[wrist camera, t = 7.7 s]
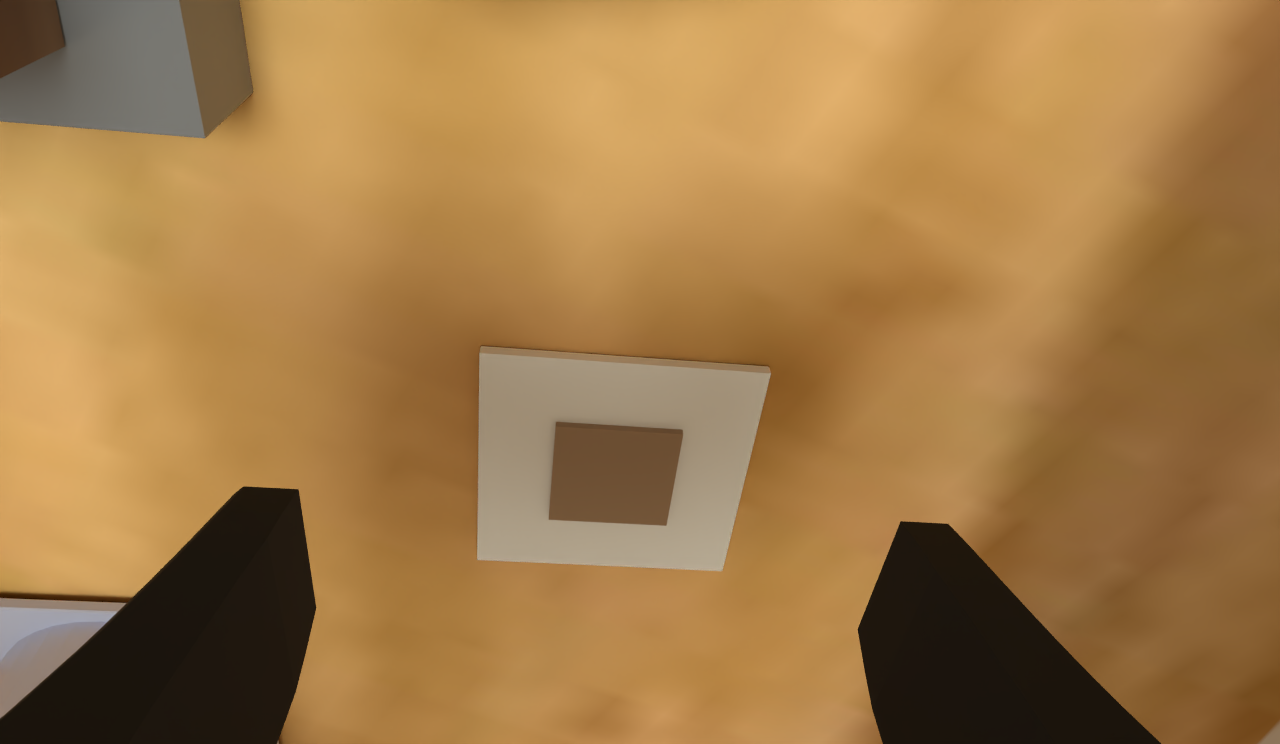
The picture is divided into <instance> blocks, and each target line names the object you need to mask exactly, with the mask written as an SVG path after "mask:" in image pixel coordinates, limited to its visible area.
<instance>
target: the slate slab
mask: <svg viewBox="0 0 1280 744" xmlns="http://www.w3.org/2000/svg"><path fill="white" fill-rule="evenodd" d="M55 2H56V6H57V11H58V16H59V21H60V25H61V30H62V35H63V40H64V44H65V47H63V48H61V49H59V50H57V51H55V52H53V53H51V54H49V55H47V56H45V57H43V58H41V59H39V60H37V61H35V62H33V63H31V64H29V65H26V66H24V67H22V68H20V69H18V70H16V71H14V72H12V73H10V74H8V75H6V76H4V77H2V78H0V121H3V122H15V123H27V124H39V125H51V126H63V127H76V128H88V129H100V130H112V131H124V132H136V133H148V134H160V135H172V136H185V137H197V138H206V137H207V136H208V135H209V134H210V133H211V132H212V131H213V130H214V129H215V128H216V127H217V126H218V125H220V124H221V123H222V122H223V121H224V120H225V119H226V118H227V117H228V116H229V115H230V114H231V113H232V112H233V111H234V110H235V109H236V108H237V107H238V106H240V105H241V104H242V103H243V102H244V101H245V100H246V99H247V98H248V97H249V96H250V95H251V94H252V93H253V87H252V80H251V73H250V67H249V60H248V54H247V47H246V40H245V34H244V27H243V20H242V14H241V7H240V1H239V0H55Z"/></svg>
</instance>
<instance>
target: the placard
mask: <svg viewBox="0 0 1280 744" xmlns="http://www.w3.org/2000/svg"><path fill="white" fill-rule="evenodd" d="M770 376H771V372H770V368H769V366H755V365H741V364H727V363H713V362H699V361H685V360H671V359H657V358H643V357H629V356H614V355H600V354H586V353H572V352H558V351H544V350H530V349H516V348H502V347H488V346H481V348H480V353H479V442H478V535H477V560H489V561H511V562H533V563H555V564H577V565H598V566H620V567H642V568H664V569H686V570H707V571H722V570H723V566H724V562H725V558H726V554H727V550H728V546H729V542H730V538H731V534H732V530H733V526H734V522H735V518H736V514H737V510H738V506H739V501H740V497H741V493H742V489H743V485H744V481H745V477H746V473H747V469H748V465H749V461H750V457H751V453H752V449H753V445H754V441H755V436H756V432H757V428H758V424H759V420H760V416H761V412H762V408H763V404H764V400H765V396H766V392H767V388H768V384H769V380H770Z"/></svg>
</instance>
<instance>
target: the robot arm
mask: <svg viewBox="0 0 1280 744" xmlns="http://www.w3.org/2000/svg"><path fill="white" fill-rule="evenodd" d="M315 611H316V604H315V597H314V590H313V583H312V577H311V570H310V563H309V557H308V550H307V543H306V537H305V530H304V523H303V516H302V510H301V503H300V496H299V490H298V489H280V488H261V487H243V488H241V489H240V490H239V491H237V492H236V493H235V494H234V495H233V496H232V497H231V498H230V499H229V500H228V501H227V502H226V503H225V504H224V505H223V506H222V507H221V508H220V509H219V510H218V511H217V512H216V514H215V515H214V516H213V517H212V518H211V519H210V520H209V521H208V522H207V523H206V524H205V525H204V526H203V527H202V528H201V529H200V530H199V531H198V532H197V533H196V534H195V535H194V536H193V537H192V538H191V540H190V541H189V542H188V543H187V544H186V545H185V546H184V547H183V548H182V549H181V550H180V551H179V552H178V553H177V554H176V555H175V556H174V557H173V558H172V559H171V560H170V561H169V562H168V563H167V564H166V565H165V566H164V567H163V568H162V569H161V570H160V571H159V572H158V573H157V574H156V575H155V576H154V577H153V578H152V579H151V580H150V581H149V582H148V583H147V584H146V585H145V586H144V587H143V588H142V589H141V590H140V591H139V592H138V593H137V594H136V595H135V596H134V597H133V598H132V599H130V600H129V601H128V602H127V603H115V602H90V601H64V600H39V599H13V598H0V744H279V741H278V739H279V736H280V734H281V731H282V728H283V725H284V723H285V720H286V717H287V715H288V712H289V709H290V706H291V703H292V701H293V698H294V695H295V692H296V689H297V685H298V681H299V677H300V673H301V669H302V665H303V661H304V657H305V653H306V649H307V645H308V641H309V636H310V632H311V628H312V623H313V619H314V615H315ZM858 634H859V640H860V645H861V651H862V657H863V663H864V669H865V674H866V679H867V684H868V689H869V694H870V700H871V705H872V709H873V713H874V716H875V719H876V723H877V726H878V729H879V733H880V736H881V739H882V742H883V744H1161V743H1160V742H1159V741H1158V740H1157V739H1156V738H1155V737H1154V736H1153V735H1152V734H1151V733H1149V732H1148V731H1147V730H1146V729H1145V728H1144V727H1143V726H1142V725H1141V724H1140V723H1139V722H1138V721H1137V720H1136V719H1135V718H1134V717H1133V716H1132V715H1131V714H1129V713H1128V712H1127V711H1126V710H1125V709H1124V708H1123V707H1122V706H1121V705H1120V704H1119V703H1118V702H1117V701H1116V700H1115V699H1114V698H1113V697H1112V696H1111V695H1110V694H1109V693H1108V692H1107V691H1106V690H1105V689H1104V688H1103V687H1102V686H1101V685H1100V684H1099V683H1098V682H1097V681H1096V680H1095V679H1094V678H1093V677H1092V676H1091V675H1090V674H1089V673H1088V672H1087V671H1086V670H1085V669H1084V668H1083V667H1082V666H1081V665H1080V664H1079V663H1078V662H1077V661H1076V660H1075V659H1074V658H1073V657H1072V655H1071V654H1070V653H1069V652H1068V651H1067V650H1066V649H1065V648H1064V647H1063V646H1062V645H1061V644H1060V643H1059V642H1058V641H1057V640H1056V639H1055V638H1054V637H1053V636H1052V635H1051V634H1050V632H1049V631H1048V630H1047V629H1046V628H1045V627H1044V626H1043V625H1042V624H1041V623H1040V622H1039V621H1038V620H1037V619H1036V618H1035V617H1034V615H1033V614H1032V613H1031V612H1030V611H1029V610H1028V609H1027V608H1026V607H1025V606H1024V605H1023V604H1022V602H1021V601H1020V600H1019V599H1018V598H1017V597H1016V596H1015V595H1014V594H1013V593H1012V592H1011V591H1010V590H1009V588H1008V587H1007V586H1006V585H1005V584H1004V583H1003V582H1002V581H1001V580H1000V579H999V578H998V576H997V575H996V574H995V573H994V572H993V571H992V570H991V569H990V568H989V567H988V566H987V565H986V563H985V562H984V561H983V560H982V559H981V558H980V557H979V556H978V555H977V554H976V553H975V552H974V550H973V549H972V548H971V547H970V546H969V545H968V544H967V543H966V542H965V541H964V540H963V539H962V538H961V537H960V536H959V535H958V534H957V533H956V532H955V531H954V529H953V528H952V527H951V526H950V525H949V524H940V523H921V522H902V521H901V522H900V525H899V527H898V530H897V532H896V535H895V537H894V540H893V542H892V545H891V547H890V550H889V552H888V555H887V557H886V560H885V562H884V565H883V567H882V570H881V572H880V575H879V577H878V580H877V582H876V585H875V587H874V590H873V592H872V595H871V597H870V600H869V602H868V605H867V607H866V610H865V612H864V615H863V617H862V620H861V622H860V625H859V627H858Z"/></svg>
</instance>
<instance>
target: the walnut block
mask: <svg viewBox="0 0 1280 744" xmlns="http://www.w3.org/2000/svg"><path fill="white" fill-rule="evenodd" d="M63 47H65V44H64V40H63V35H62V30H61V25H60V21H59V16H58V11H57V6H56V2H55V0H0V78H2V77H4V76H6V75H8V74H10V73H12V72H14V71H16V70H18V69H20V68H22V67H24V66H26V65H29V64H31V63H33V62H35V61H37V60H39V59H41V58H43V57H45V56H47V55H49V54H51V53H53V52H55V51H57V50H59V49H61V48H63Z"/></svg>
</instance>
